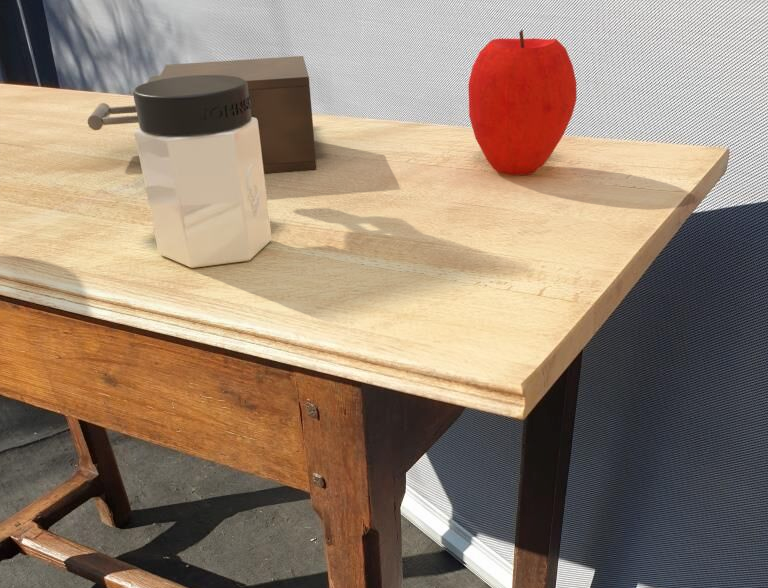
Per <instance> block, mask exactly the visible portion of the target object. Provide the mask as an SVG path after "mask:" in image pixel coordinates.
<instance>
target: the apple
mask: <svg viewBox="0 0 768 588" xmlns="http://www.w3.org/2000/svg"><path fill="white" fill-rule="evenodd" d="M575 74H576V73H575V70H574V66H573V63H572V61H571V58H570V55H569V53H568V51H567V48H566V47H565V46H564V45H563V44H562V43H561V42H560V41H559V40H558V39H557V38H549V39H547V38H546V39H545V38H524V29H521V30H520V31H519V38H493V39H491V40H490V41H489V42H488V43H487V44H486V45H485V46H484V47H483V48H482V49H481V50H480V51H479V53H478V55H477V56H476V59H475V61H474V63H473V64H472V67H471V72H470V76H469V80H468V87H467V89H468V116H469V119H470V123H471V127H472V131H473V134H474V138H475V140H476V142H477V144H478V146H479V147H480V150H481V152H482V153H483V155H484V157H485V159H486V161H487V162H488V163H489V165H490V166H491V168H492V169H493V170H494V171H496V172H498V173H500V174H503V175H511V176H524V175H525V176H526V175H530V174H534V173H535V171H537V170H539V169H540V168H542V167H543V166H544V165H545V163H546V162H547V161H548V160H549V159H550V158H551V156H552V154H553V152H554V150H555V149H556V148H557V146H558V144H559V143H560V141H561V139H562V138H563V137H564V135H565V132H566V130H567V128H568V127H569V124H570V121H571V119H572V117H573V115H574V114H573V113H574V110H575V107H576V103H577V93H578V92H577V91H578V90H577V79H576V75H575Z"/></svg>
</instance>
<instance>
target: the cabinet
mask: <svg viewBox="0 0 768 588" xmlns="http://www.w3.org/2000/svg"><path fill="white" fill-rule="evenodd" d="M195 75H226V76H235V77H239V78H242V79H244V80H245V81H246V82H247V84H248V92H249V94H250V100H251V107H250V109H251V117H254V118H257V120H258V127H259V136H260V144H261V153H262V161H263V169H264V174H272V173H273V174H274V173H283V172H284V173H285V172H299V171H300V172H301V171H311V170H317V156H316V145H315V143H316V142H315V133H314V131H315V130H314V121H313V109H312V98H311V97H312V96H311V86H310V85H311V84H310V76H309V73H308V69H307V64H306V61H305V58H304V56H303V55H297V56H296V55H295V56H284V57H283V56H281V57H279V56H278V57H265V58H264V57H263V58H251V59H236V60H235V59H233V60H217V61H205V62H203V61H202V62H190V63H189V62H187V63H186V62H185V63H173V64H171V63H169V64H165V66H164V67H163V69H162V71H161V73H160V74H159V75H158V76H159V78H158V80H161V79H167V78H174V77H182V76H195Z"/></svg>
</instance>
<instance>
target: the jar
mask: <svg viewBox="0 0 768 588" xmlns="http://www.w3.org/2000/svg"><path fill="white" fill-rule="evenodd" d="M147 82H148V81H147ZM147 82H145V83H143V84H140V85H138V86H136V87H134V89H133V91H132V96H133V100H134V106H136V111H137V113H136V115H137V116H138V121H139V123H138V128H136V129H134V132H133V133H134V137H135V142H136V148H137V153H138V157H139V163H140V167H141V172H142V173H141V174H142V177H143V178H142V179H143V182H144V189H145V193H146V197H147V202H148V207H149V213H150V218H151V223H152V226H153V233H154V238H155V243H156V248H157V252H158V254H159V255H160V256H162V257H165V258H167V259H170V260H172V261H174V262H177V263H179V264H181V265H184V266H185V267H189V268H190V269H195V268H203V267H211V266H219V265H226V264H233V263H242V262H248V261H249V262H250V261H251V259H253V258H254V257H255V256H256V255H257V254H259V252H261V250H262V249H263V248H265V247H266V246H267V245H268V244H269V243H270V242H271V241H272V239H273V236H272V230H271V222H270V221H271V220H270V212H269V204H268V195H267V188H266V187H267V186H266V179H265V173H264V169H263V161H262V153H261V144H260V136H259V127H258V120H257V118H254V117H251V109H250V107H251V100H250V94H249V92H248V84H247V82H246V81H245V80H244V79H242V78H239V77H235V76H226V75H195V76H182V77H174V78H167V79H161V80H156V81H152V82H148V83H147Z"/></svg>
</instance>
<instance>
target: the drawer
mask: <svg viewBox="0 0 768 588" xmlns="http://www.w3.org/2000/svg"><path fill="white" fill-rule="evenodd" d="M159 76H160V75H151V76H150V77H149V79H148V80H147V82H146V83H148V82H152V81H156V80H158V78H159ZM122 114H135V115H122ZM111 115H121V116H111ZM124 124H139V121H138V116H137V111H136V106H135V105H122V106H109V104H107V103H105V102H101V103H99V104H98V106H96V108H95V109H94V111H92V112H91V114H90V116H89V117H88V118H87V125H88V127H89V128H90V129H91V130H92V131H99V130H101V129H102V128H103V126H111V125H124Z"/></svg>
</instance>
